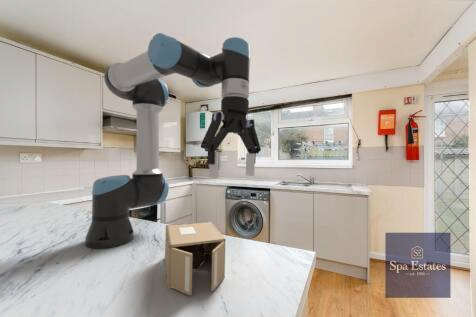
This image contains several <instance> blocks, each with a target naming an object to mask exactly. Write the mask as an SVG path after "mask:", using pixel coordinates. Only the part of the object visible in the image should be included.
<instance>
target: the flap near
mask: <svg viewBox="0 0 476 317" xmlns="http://www.w3.org/2000/svg"><path fill="white" fill-rule="evenodd" d="M192 257H193V254H192V253H189V252H185V251H182V250H179V249H176V248H171V282H170V287H169V288H171V289H174V290H176V291H179V292H181V293H183V294H185V295H188V296H191V295H192V293H193V292H192V291H193V269H192Z"/></svg>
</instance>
